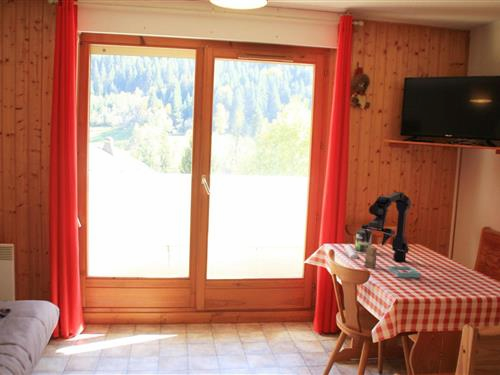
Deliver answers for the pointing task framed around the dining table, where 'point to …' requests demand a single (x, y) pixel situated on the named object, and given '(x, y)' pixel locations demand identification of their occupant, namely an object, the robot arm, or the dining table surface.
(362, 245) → the coffee can
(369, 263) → the strut
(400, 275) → the teal flat square frame
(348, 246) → the tube
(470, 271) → the dining table surface
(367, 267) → the stud mount
